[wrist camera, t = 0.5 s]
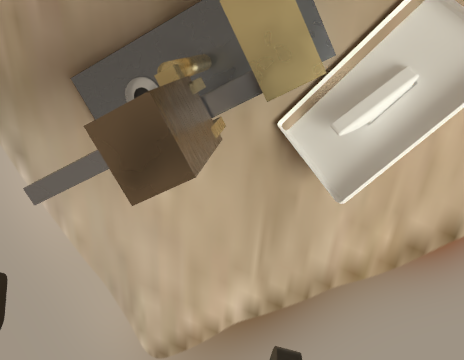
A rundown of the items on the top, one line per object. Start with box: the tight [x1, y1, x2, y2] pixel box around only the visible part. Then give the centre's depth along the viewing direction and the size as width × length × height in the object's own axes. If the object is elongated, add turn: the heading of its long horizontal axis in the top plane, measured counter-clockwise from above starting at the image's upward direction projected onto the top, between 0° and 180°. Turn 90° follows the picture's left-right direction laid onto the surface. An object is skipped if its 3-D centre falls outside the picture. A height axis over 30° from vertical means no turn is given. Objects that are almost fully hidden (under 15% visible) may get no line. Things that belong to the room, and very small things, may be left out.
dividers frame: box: [24, 0, 326, 205], centre depth 26 cm, size 18×5×12 cm, turn 117°
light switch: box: [278, 0, 464, 204], centre depth 29 cm, size 8×5×14 cm
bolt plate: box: [71, 0, 336, 120], centre depth 32 cm, size 20×8×2 cm, turn 117°
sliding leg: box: [84, 54, 226, 206], centre depth 23 cm, size 3×5×17 cm, turn 27°
